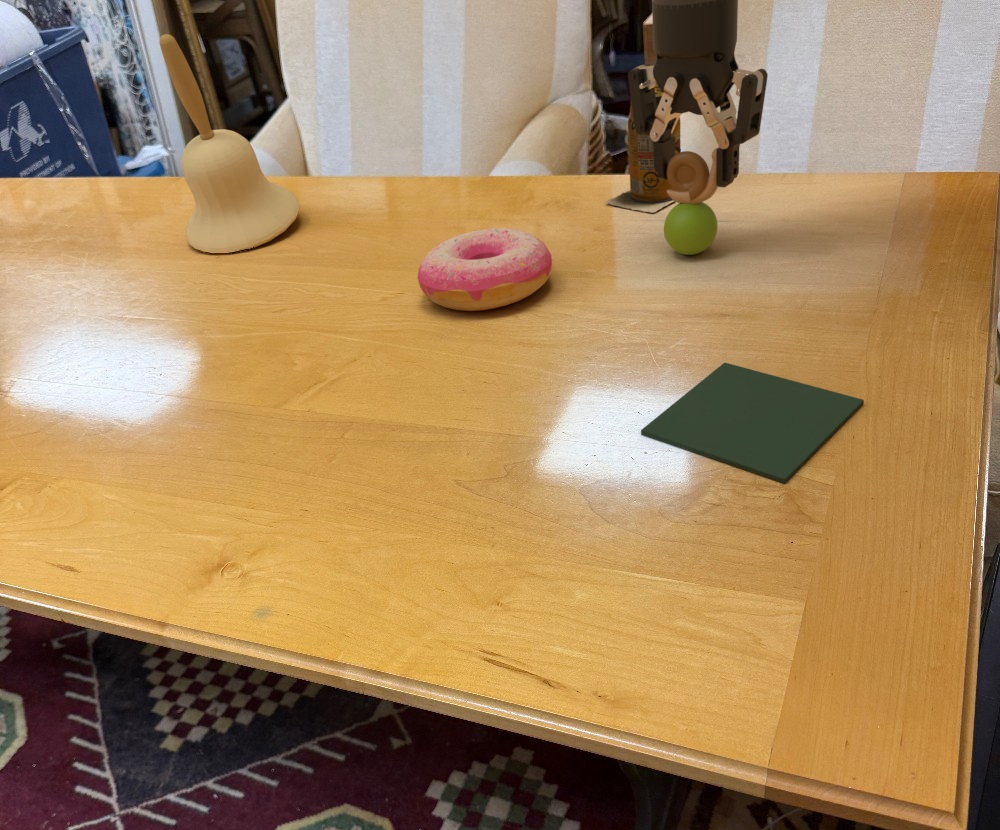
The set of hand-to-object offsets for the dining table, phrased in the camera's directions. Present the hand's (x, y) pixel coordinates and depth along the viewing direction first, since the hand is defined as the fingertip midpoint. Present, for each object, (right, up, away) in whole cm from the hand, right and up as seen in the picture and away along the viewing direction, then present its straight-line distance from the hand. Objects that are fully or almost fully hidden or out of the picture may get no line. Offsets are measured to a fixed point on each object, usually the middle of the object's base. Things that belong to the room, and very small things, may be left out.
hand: (695, 180), depth 91 cm
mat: (0, -26, -21) cm, 34 cm away
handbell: (-53, +3, +29) cm, 60 cm away
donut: (-21, -10, +4) cm, 23 cm away
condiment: (-1, +4, +19) cm, 20 cm away
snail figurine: (+1, -6, +5) cm, 8 cm away
